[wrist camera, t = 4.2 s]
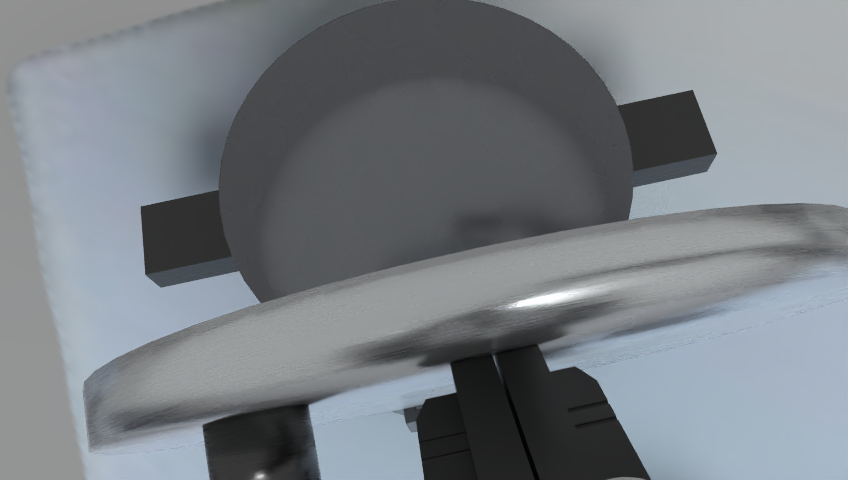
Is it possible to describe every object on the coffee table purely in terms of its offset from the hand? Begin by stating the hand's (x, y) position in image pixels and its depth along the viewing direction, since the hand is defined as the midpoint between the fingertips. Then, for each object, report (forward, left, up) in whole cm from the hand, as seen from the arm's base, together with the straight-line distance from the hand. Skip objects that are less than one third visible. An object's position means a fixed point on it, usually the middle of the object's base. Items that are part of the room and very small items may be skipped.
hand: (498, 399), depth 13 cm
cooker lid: (-1, -3, -5) cm, 6 cm away
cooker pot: (-3, -11, -24) cm, 27 cm away
